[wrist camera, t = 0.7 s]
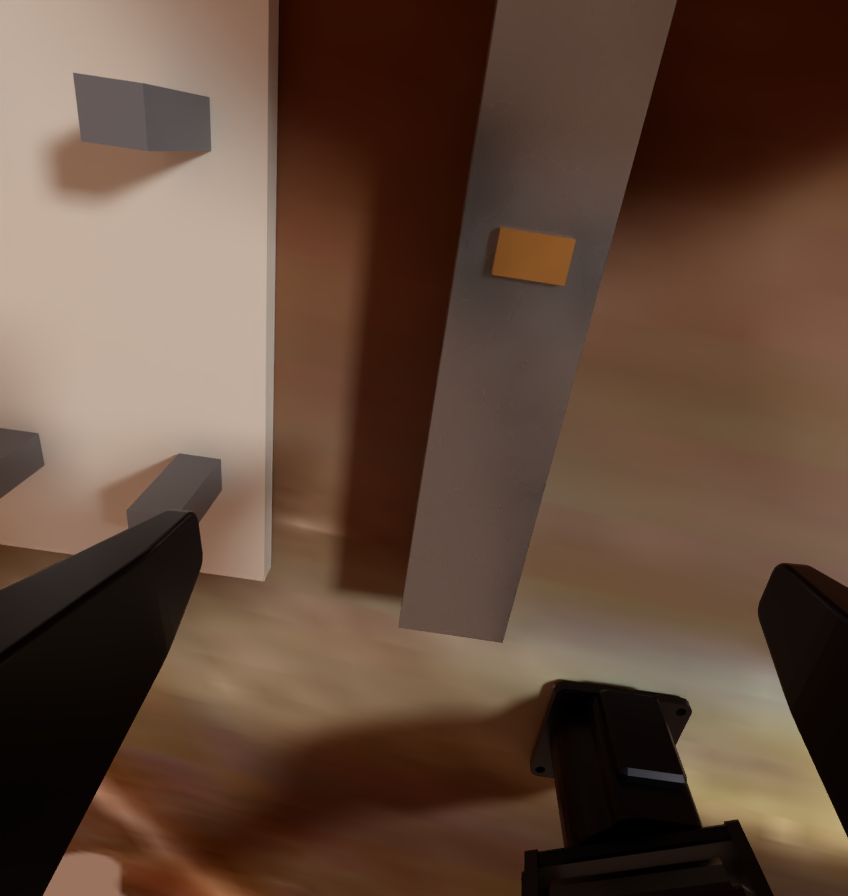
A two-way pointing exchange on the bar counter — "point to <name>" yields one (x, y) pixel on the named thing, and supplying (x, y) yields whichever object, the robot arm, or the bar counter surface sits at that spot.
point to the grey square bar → (524, 290)
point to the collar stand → (138, 272)
